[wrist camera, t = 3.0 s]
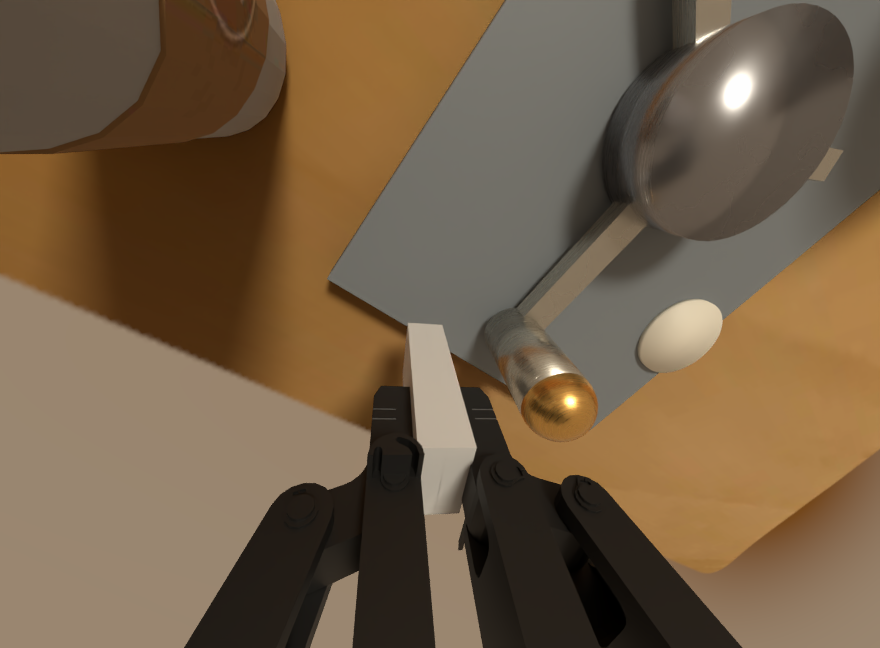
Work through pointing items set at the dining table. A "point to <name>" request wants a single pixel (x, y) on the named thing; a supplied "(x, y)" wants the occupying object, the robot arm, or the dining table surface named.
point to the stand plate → (581, 196)
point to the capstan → (688, 170)
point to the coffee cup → (135, 71)
